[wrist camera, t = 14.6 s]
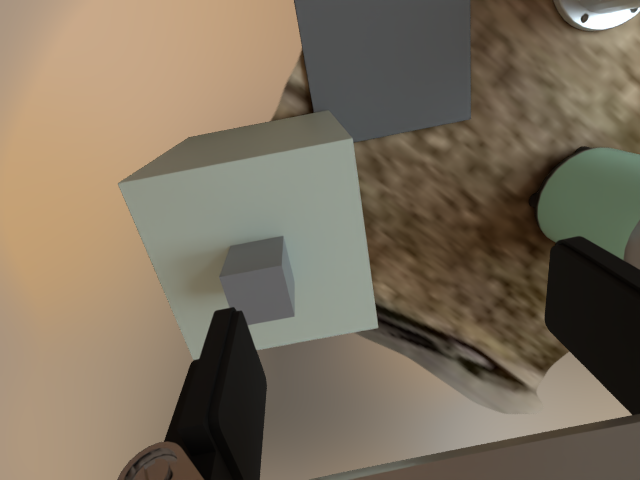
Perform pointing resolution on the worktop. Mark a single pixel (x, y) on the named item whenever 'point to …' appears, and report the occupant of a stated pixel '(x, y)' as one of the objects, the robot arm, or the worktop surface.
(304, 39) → the mat
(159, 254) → the cover
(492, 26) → the worktop surface
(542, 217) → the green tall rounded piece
